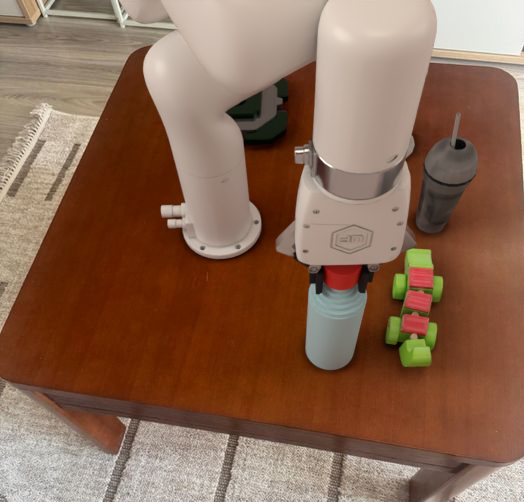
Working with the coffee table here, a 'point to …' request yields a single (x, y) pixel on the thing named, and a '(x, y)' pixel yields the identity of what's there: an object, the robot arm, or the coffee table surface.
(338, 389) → the coffee table surface
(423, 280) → the toy crocodile
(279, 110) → the four-lobed dark green device
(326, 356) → the bottle
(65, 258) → the coffee table surface
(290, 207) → the coffee table surface
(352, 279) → the cap
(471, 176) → the beverage cup
